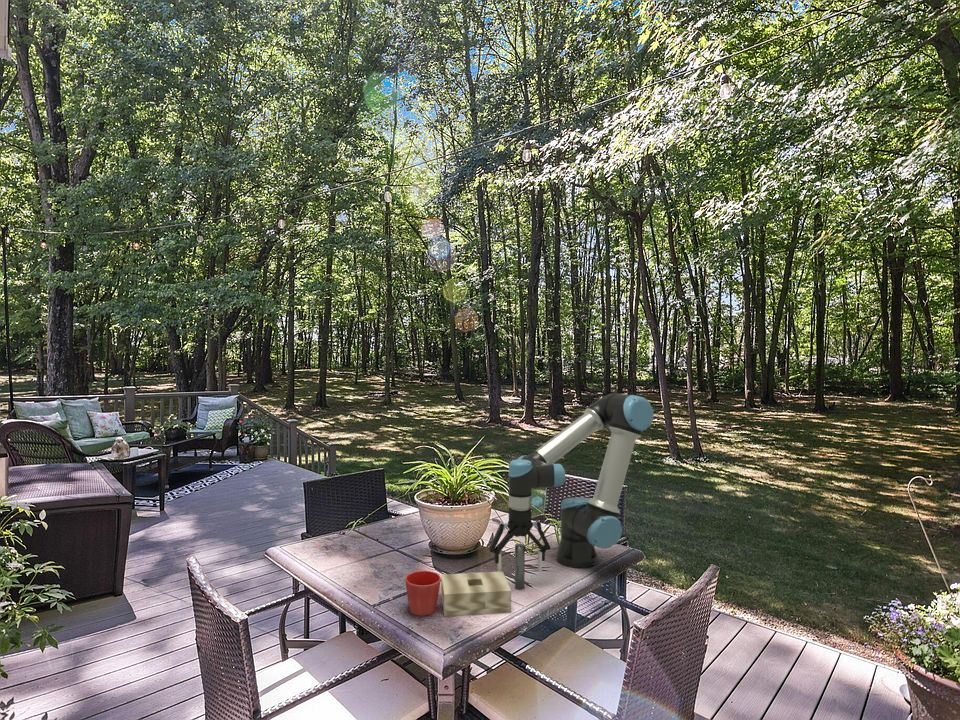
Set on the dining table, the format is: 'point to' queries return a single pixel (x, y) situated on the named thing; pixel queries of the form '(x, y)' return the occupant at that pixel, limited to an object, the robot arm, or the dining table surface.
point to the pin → (519, 566)
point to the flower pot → (422, 591)
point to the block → (475, 593)
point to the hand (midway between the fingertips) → (519, 571)
